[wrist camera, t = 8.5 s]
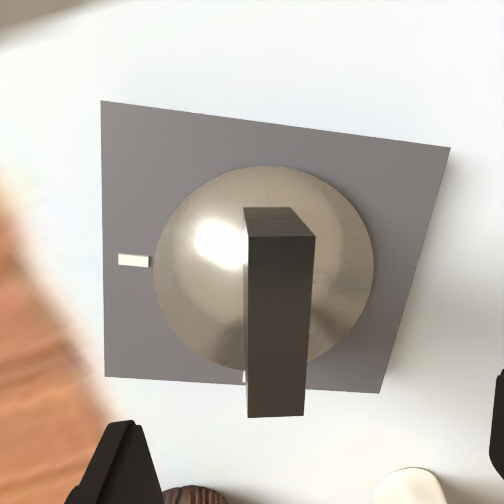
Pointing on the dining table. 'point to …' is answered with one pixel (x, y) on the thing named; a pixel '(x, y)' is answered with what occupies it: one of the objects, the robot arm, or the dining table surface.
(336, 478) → the dining table surface
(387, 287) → the control panel
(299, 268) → the dial
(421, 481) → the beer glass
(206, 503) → the cupcake
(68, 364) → the dining table surface
